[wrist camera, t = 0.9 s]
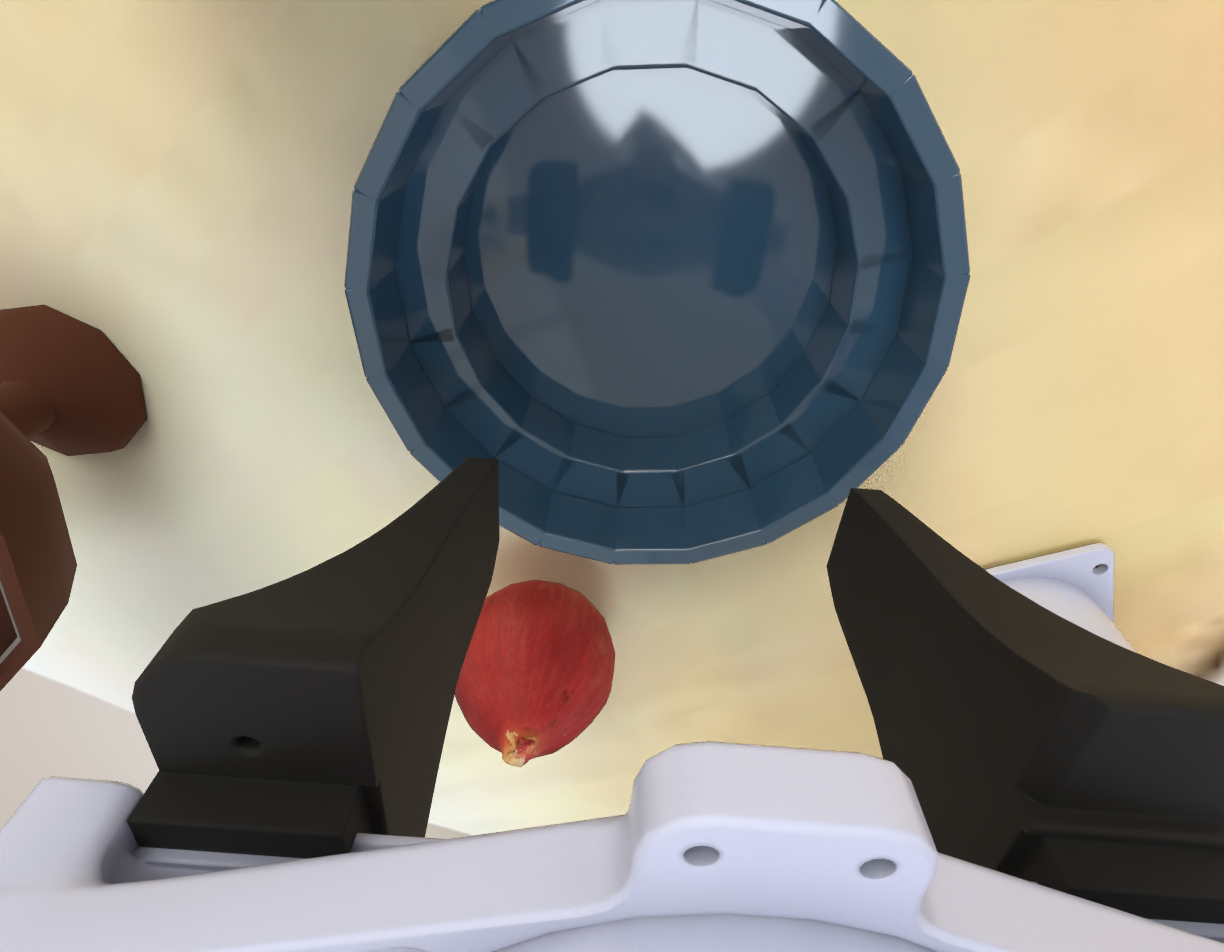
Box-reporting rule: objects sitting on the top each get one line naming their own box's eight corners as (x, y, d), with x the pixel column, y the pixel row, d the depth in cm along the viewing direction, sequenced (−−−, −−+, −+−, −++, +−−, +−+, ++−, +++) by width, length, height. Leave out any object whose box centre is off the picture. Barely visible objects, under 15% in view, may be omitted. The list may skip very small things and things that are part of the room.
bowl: (926, 406, 24) (991, 487, 19) (523, 521, 27) (502, 613, 22) (851, -136, 16) (928, -196, 12) (307, 105, 19) (215, 125, 15)
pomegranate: (631, 633, 30) (630, 811, 23) (501, 655, 30) (463, 832, 24) (595, 523, 27) (582, 691, 20) (452, 551, 27) (393, 720, 21)
